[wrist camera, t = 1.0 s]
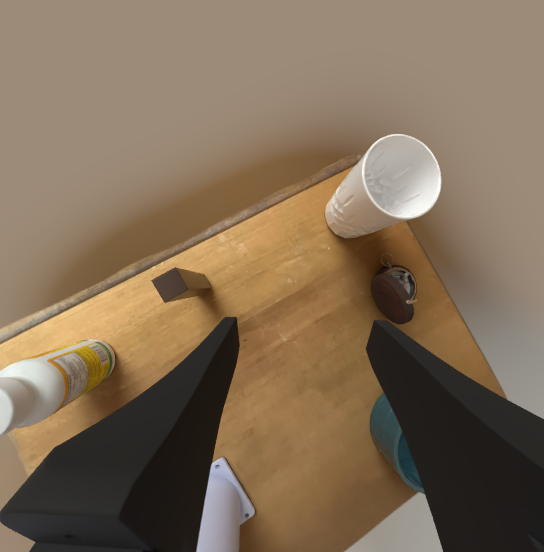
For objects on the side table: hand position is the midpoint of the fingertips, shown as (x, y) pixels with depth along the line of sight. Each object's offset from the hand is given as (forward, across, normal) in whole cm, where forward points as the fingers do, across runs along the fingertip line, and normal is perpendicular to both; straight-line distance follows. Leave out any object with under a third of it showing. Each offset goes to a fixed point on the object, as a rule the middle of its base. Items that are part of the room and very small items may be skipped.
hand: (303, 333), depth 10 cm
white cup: (+21, -8, -3) cm, 23 cm away
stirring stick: (+13, +11, +4) cm, 18 cm away
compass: (+17, -14, +6) cm, 23 cm away
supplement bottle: (+7, +23, +12) cm, 27 cm away
